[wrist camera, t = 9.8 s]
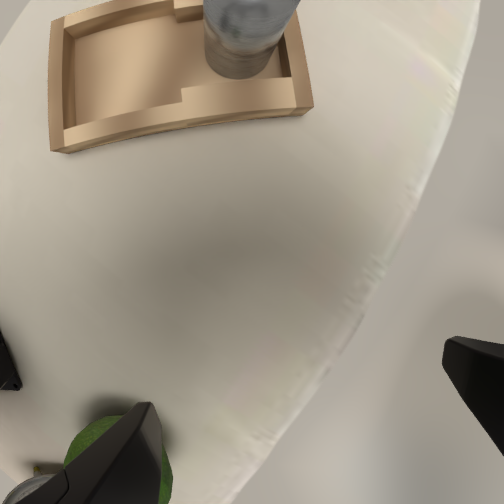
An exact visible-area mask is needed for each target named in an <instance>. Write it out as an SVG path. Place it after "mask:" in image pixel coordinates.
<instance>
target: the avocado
mask: <svg viewBox="0 0 504 504" xmlns="http://www.w3.org/2000/svg"><path fill="white" fill-rule="evenodd" d="M122 416H123V415H115V416H106V417H104V418H101V419H99V420H97V421H95V422H92V423H91V424H89V425H88V426H87V427H86V428H85V429H83V430H82V431H81V432H80V433H79V434H77V435H76V437H75V438H74V440H73V441H72V443H71V445H70V447H69V450H68V452H67V455H66V458H65V460H64V467H65V466H66V465H67V464H68V463H70V462H71V461H72V460H73V459H74V458H75V457H77V456H78V455H79V454H80V453H81V452H82V451H84V450H85V449H86V448H87V447H88V446H89V445H90V444H92V443H93V442H94V441H95V440H96V439H97V438H98V437H100V436H101V435H102V434H103V433H104V432H105V431H106V430H107V429H109V428H110V427H111V426H112V425H113V424H114V423H115V422H117V421H118V420H119V419H120V418H121V417H122ZM64 467H63V468H64ZM64 469H65V468H64ZM172 483H173V475H172V470H171V466H170V463H169V460H168V457H167V454H166V451H165V449H164V447H163V445H162V475H161V485H160V494H159V503H158V504H168V503H169V501H170V498H171V492H172Z"/></svg>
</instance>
